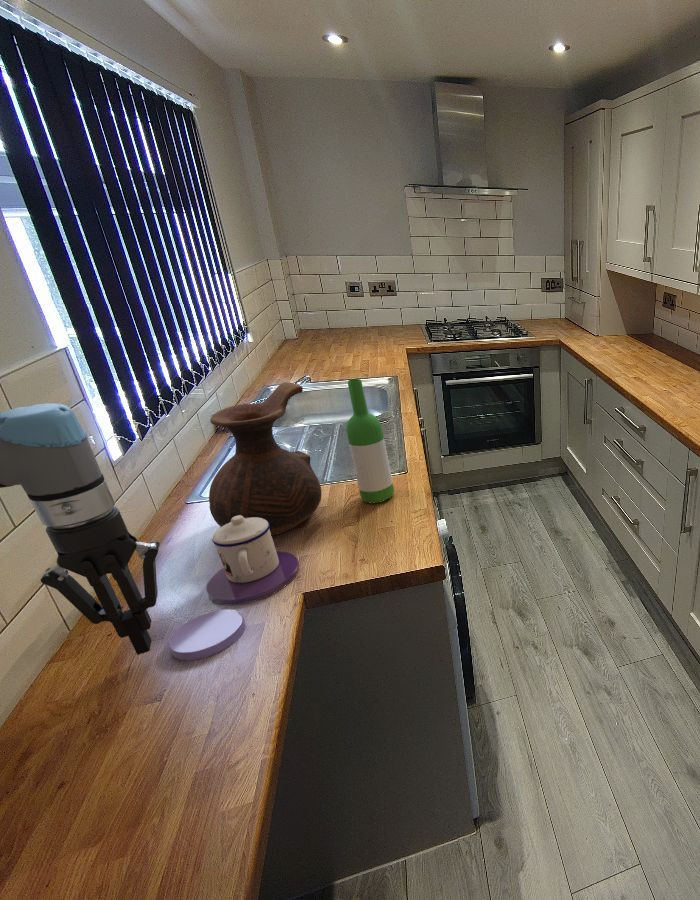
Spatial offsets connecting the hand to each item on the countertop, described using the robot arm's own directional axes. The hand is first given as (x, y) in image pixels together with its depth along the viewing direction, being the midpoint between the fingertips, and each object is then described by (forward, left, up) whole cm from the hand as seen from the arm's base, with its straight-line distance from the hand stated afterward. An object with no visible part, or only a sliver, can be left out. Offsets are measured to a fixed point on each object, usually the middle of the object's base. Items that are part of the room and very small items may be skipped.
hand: (144, 647), depth 81 cm
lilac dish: (+8, 0, -2) cm, 8 cm away
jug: (+20, +36, -2) cm, 41 cm away
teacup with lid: (+15, +14, -1) cm, 20 cm away
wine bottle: (+42, +35, -2) cm, 55 cm away
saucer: (+15, +14, -2) cm, 21 cm away
